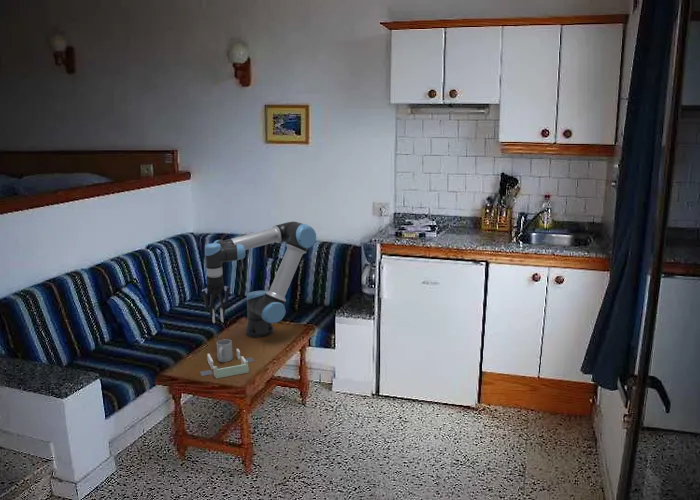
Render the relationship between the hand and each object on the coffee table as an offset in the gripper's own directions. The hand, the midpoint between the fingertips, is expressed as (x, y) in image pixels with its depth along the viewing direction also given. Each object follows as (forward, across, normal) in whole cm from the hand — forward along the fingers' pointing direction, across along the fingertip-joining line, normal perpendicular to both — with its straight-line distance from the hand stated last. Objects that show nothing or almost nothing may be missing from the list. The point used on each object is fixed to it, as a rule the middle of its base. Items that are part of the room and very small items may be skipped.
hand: (217, 321), depth 290 cm
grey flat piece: (+17, 0, +18) cm, 24 cm away
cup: (+17, 0, +10) cm, 20 cm away
